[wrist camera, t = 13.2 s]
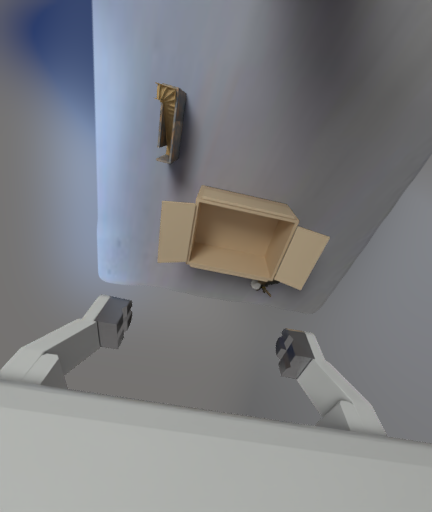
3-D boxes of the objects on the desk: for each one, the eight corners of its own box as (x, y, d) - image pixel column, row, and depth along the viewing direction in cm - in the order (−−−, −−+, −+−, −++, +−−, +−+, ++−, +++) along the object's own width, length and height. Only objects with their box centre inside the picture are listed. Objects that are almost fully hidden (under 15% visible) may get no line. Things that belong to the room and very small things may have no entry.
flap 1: (194, 203, 40) (162, 200, 37) (195, 204, 39) (162, 201, 37) (185, 260, 46) (157, 261, 44) (186, 261, 46) (157, 262, 44)
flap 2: (297, 226, 41) (329, 237, 39) (297, 226, 41) (329, 236, 40) (274, 279, 47) (300, 290, 46) (274, 278, 48) (300, 289, 46)
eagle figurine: (276, 289, 61) (294, 269, 55) (265, 303, 56) (283, 282, 50) (255, 272, 63) (270, 251, 58) (243, 284, 58) (258, 262, 53)
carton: (202, 182, 47) (196, 194, 39) (287, 201, 49) (300, 217, 40) (191, 244, 56) (185, 266, 47) (264, 259, 57) (271, 283, 49)
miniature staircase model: (170, 89, 39) (155, 79, 31) (186, 93, 40) (176, 85, 31) (164, 154, 45) (150, 161, 37) (178, 158, 46) (167, 165, 37)
